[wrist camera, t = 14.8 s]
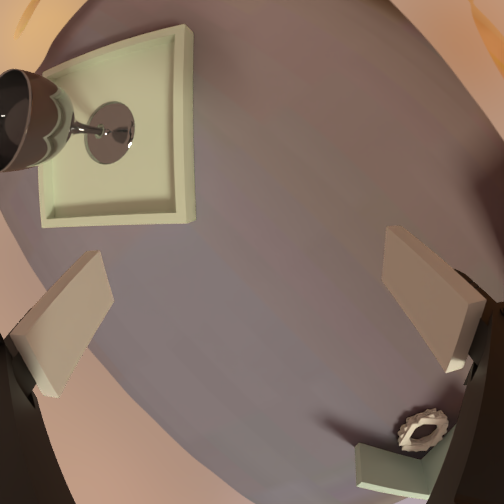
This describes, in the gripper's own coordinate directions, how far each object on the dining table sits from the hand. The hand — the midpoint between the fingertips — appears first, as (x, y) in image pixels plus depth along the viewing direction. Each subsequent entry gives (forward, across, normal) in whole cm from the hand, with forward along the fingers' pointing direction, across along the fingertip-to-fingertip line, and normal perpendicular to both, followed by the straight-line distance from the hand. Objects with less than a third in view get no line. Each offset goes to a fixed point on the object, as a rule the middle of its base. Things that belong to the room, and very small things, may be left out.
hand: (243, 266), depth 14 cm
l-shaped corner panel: (+8, +19, -29) cm, 36 cm away
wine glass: (+21, -14, +7) cm, 26 cm away
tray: (+22, -14, +7) cm, 27 cm away
